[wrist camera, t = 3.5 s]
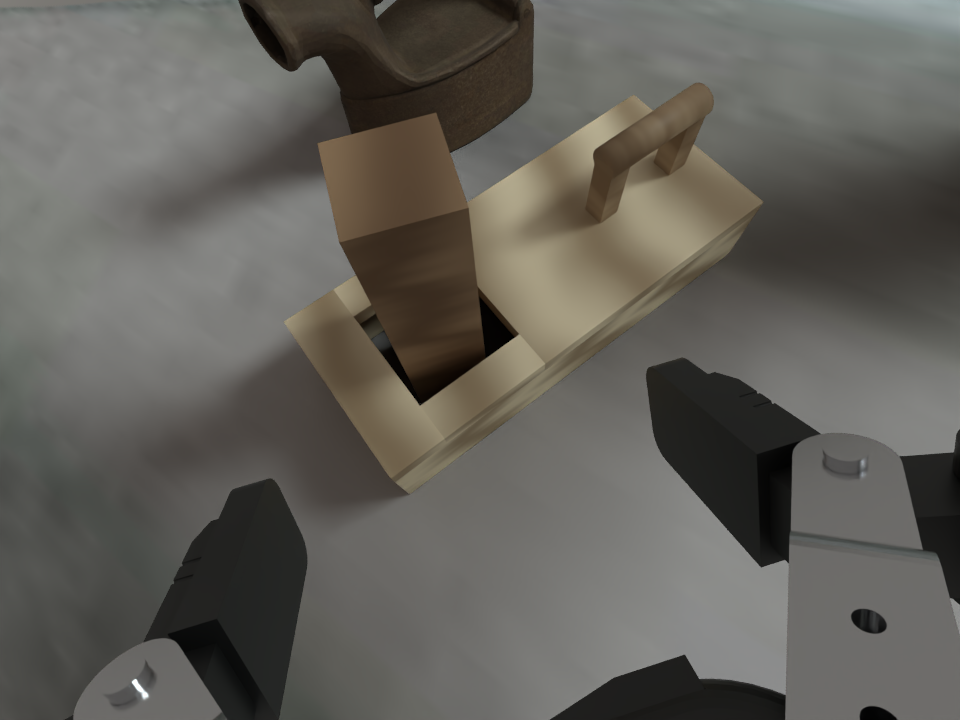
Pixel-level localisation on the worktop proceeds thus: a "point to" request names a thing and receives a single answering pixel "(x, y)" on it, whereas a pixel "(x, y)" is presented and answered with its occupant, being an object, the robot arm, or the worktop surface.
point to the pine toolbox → (545, 278)
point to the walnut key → (410, 245)
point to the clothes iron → (409, 57)
